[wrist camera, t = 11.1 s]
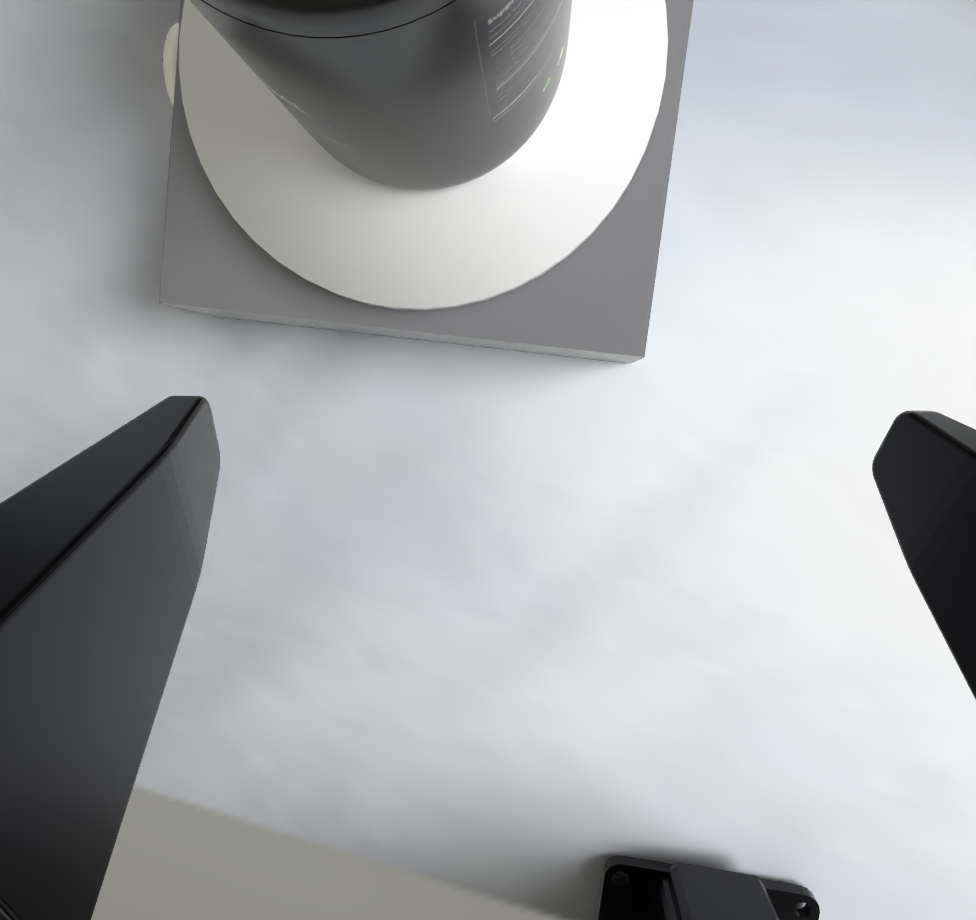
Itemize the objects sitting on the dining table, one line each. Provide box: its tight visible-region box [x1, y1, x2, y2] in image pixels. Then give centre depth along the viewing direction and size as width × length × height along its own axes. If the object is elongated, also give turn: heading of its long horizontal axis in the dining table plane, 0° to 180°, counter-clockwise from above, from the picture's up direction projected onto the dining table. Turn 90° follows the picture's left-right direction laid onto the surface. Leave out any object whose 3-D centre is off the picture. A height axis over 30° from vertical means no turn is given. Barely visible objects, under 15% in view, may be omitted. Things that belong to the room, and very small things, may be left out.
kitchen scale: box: [159, 0, 693, 363], centre depth 19 cm, size 13×14×4 cm
